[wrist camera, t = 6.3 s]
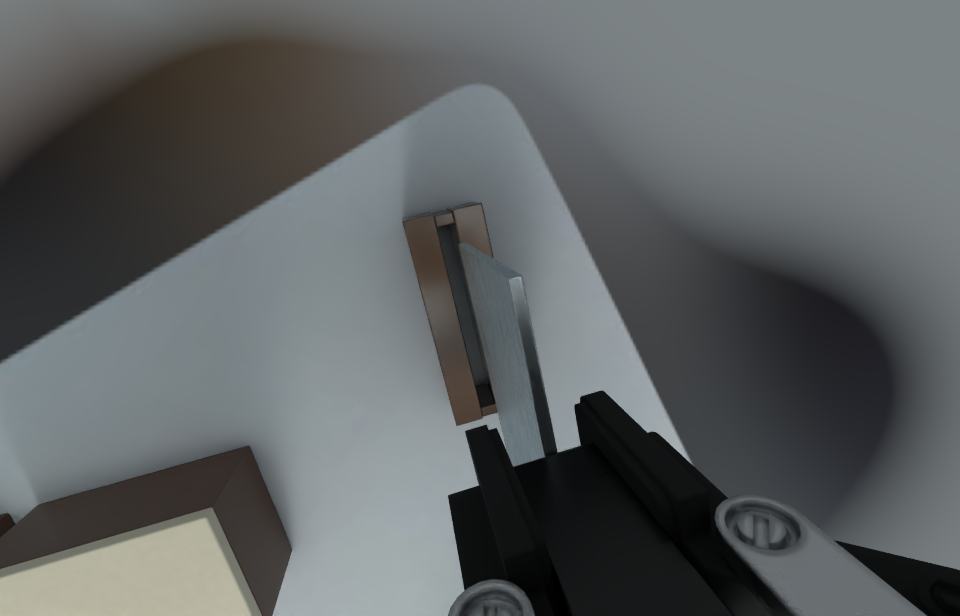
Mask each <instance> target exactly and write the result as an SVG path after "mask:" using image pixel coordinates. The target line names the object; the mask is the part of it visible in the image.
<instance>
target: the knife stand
mask: <svg viewBox="0 0 960 616" xmlns="http://www.w3.org/2000/svg"><path fill="white" fill-rule="evenodd" d="M402 221H403V225H404V229H405V233H406V237H407V240H408V244H409V248H410V252H411V256H412V259H413V263H414V267H415V271H416V274H417V278H418V282H419V286H420V290H421V293H422V297H423V301H424V305H425V309H426V312H427V316H428V320H429V324H430V327H431V331H432V335H433V339H434V343H435V346H436V350H437V354H438V358H439V361H440V365H441V369H442V373H443V377H444V380H445V384H446V388H447V392H448V396H449V399H450V403H451V407H452V411H453V414H454V418H455V422H456V425H457V426H458V425H462V424H465V423H469V422H472V421H476V420H479V419H482V418H483V416H487V415H490V414H494V413H497V412H498V411H497V407H496V403H495V398H494V394H493V390H492V386H491V381H490V377H489V373H488V369H487V364H486V360H485V356H484V352H483V347H482V343H481V339H480V335H479V330H478V326H477V322H476V318H475V313H474V309H473V305H472V301H471V296H470V292H469V288H468V284H467V279H466V275H465V271H464V267H463V262H462V258H461V254H460V250H459V246H458V245H459V244H461V243H465V242H466V243H468V244H469V245H471V246H473V247H475V248H476V249H478V250H480V251H481V252H483V253H485V254H486V255H488V256H490V257H491V258H493V259H494V257H493V253H492V248H491V243H490V239H489V234H488V229H487V225H486V220H485V215H484V211H483V206H482V203H476V202H471V203H466V204H462V205H458V206H453V207H449V208H447V210H444V211H440V212H436V213H432V214H431V213H429V212H428V213H424V214H419V215H415V216H411V217H407V218H403V219H402ZM449 224H450V226H451V230H452V234H453V238H454V243H455V247H456V251H457V255H458V259H459V264H460V268H461V272H462V276H463V281H464V285H465V289H466V293H467V298H468V302H469V306H470V310H471V315H472V319H473V323H474V327H475V332H476V336H477V340H478V344H479V349H480V353H481V357H482V361H483V366H484V370H485V374H486V378H487V382H488V384H484V385H480V386H477V387H475V383H474V379H473V375H472V371H471V367H470V363H469V359H468V355H467V351H466V347H465V343H464V338H463V334H462V330H461V326H460V322H459V318H458V314H457V310H456V306H455V302H454V298H453V294H452V289H451V285H450V281H449V277H448V273H447V269H446V265H445V261H444V257H443V253H442V249H441V244H440V240H439V236H438V232H437V228H436V227H440V226H445V225H449Z"/></svg>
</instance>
